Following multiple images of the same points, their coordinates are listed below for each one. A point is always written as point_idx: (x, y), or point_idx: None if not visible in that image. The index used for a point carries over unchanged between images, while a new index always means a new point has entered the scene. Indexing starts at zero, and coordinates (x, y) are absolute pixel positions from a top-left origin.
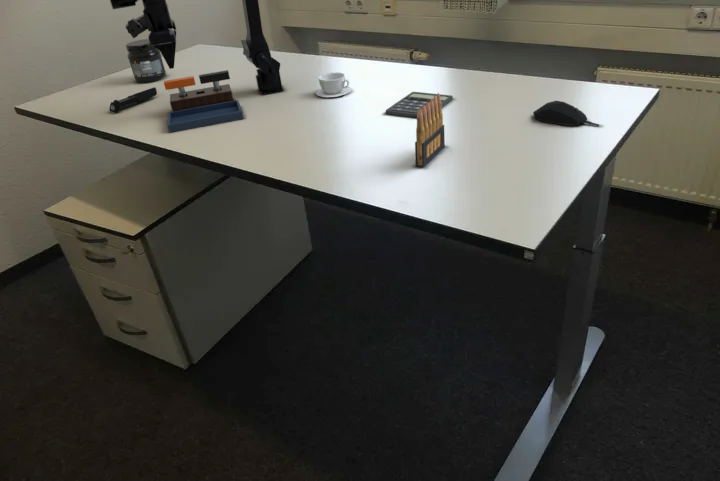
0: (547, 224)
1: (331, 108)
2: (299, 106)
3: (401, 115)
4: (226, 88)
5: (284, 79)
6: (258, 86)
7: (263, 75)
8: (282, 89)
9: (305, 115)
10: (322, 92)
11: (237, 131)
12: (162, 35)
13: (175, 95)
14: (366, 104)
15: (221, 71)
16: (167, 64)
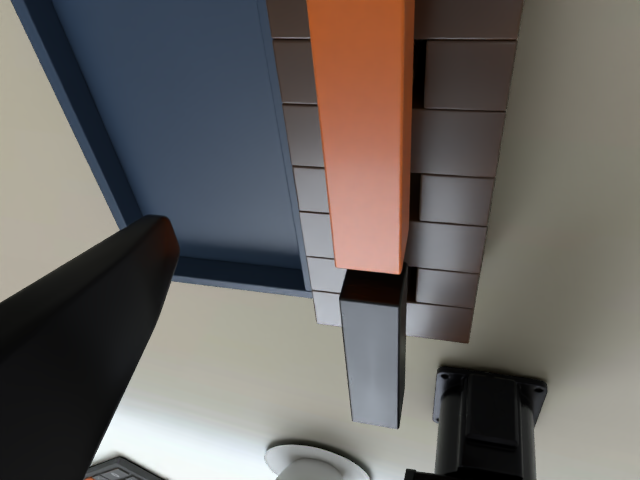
0: None
1: (187, 423)
2: (233, 391)
3: (102, 463)
4: None
5: (608, 459)
6: (469, 394)
7: (447, 457)
8: (433, 420)
9: (147, 377)
10: (323, 457)
11: (24, 213)
12: None
13: (437, 4)
14: (193, 462)
15: (389, 406)
16: (96, 245)
